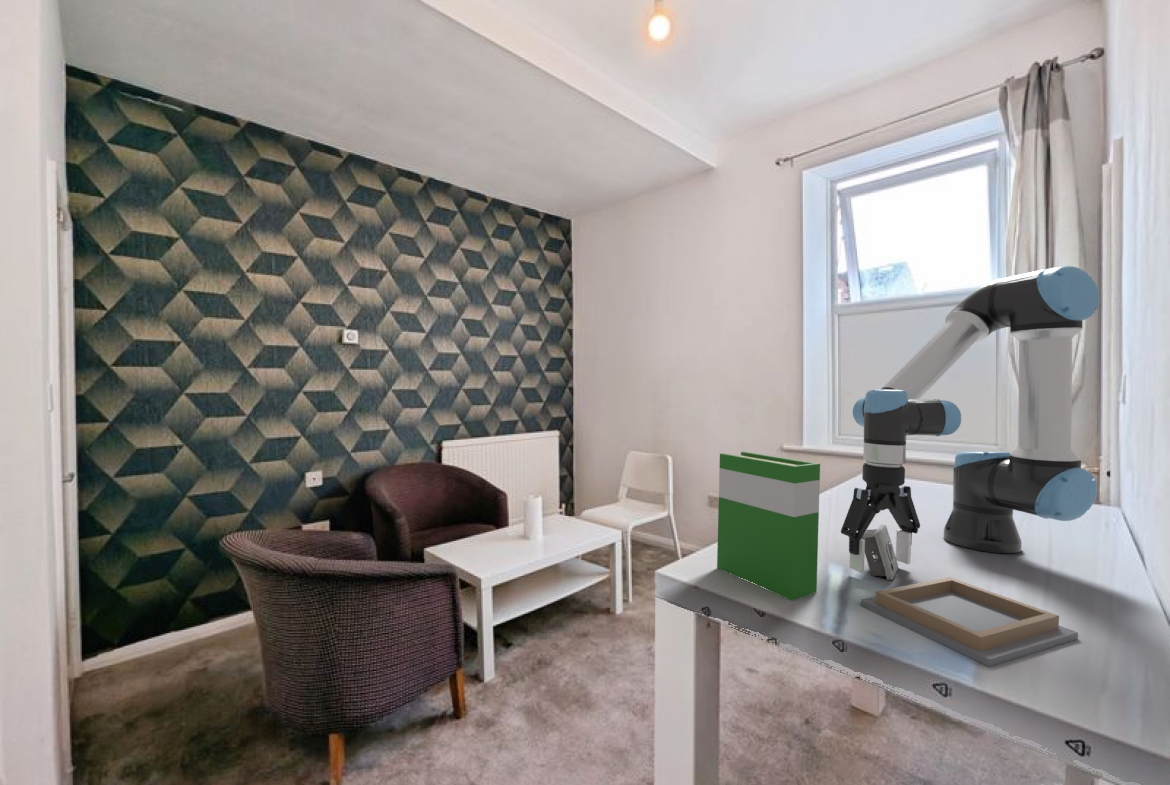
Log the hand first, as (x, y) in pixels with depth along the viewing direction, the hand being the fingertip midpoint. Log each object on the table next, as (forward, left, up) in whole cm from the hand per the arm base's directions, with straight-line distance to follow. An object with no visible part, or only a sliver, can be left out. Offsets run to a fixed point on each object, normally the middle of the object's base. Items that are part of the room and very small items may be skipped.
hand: (880, 566), depth 103 cm
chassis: (+7, +20, -1) cm, 21 cm away
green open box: (+26, -5, -2) cm, 27 cm away
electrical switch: (0, 0, -2) cm, 2 cm away
